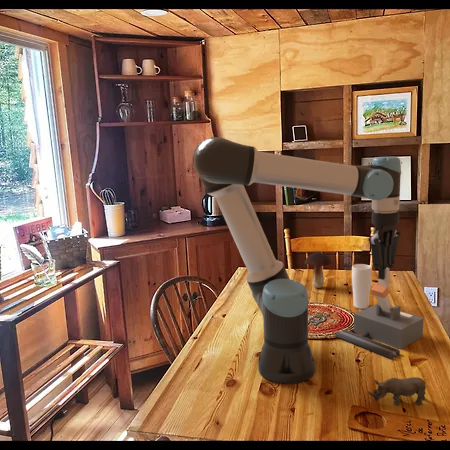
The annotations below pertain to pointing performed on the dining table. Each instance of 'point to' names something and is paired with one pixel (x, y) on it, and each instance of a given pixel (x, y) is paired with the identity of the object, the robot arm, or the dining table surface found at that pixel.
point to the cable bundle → (368, 343)
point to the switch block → (389, 326)
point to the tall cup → (361, 285)
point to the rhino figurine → (400, 389)
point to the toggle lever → (382, 298)
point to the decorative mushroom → (318, 267)
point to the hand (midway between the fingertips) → (383, 288)
